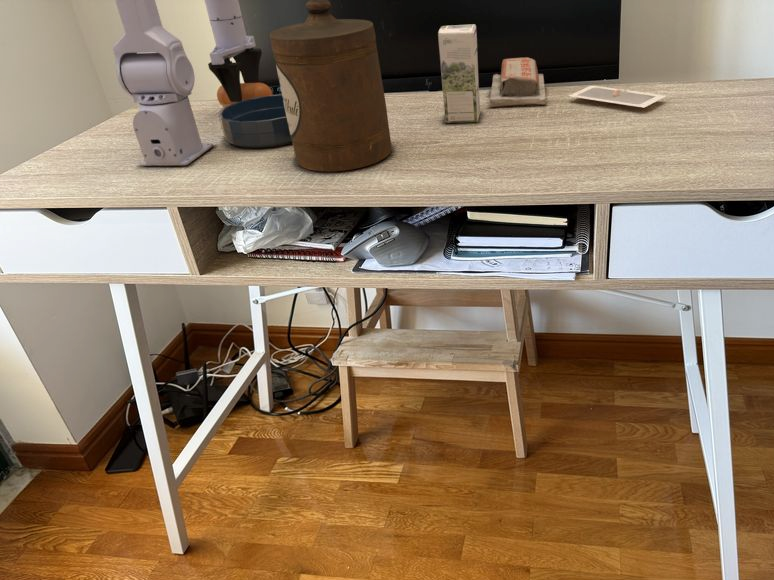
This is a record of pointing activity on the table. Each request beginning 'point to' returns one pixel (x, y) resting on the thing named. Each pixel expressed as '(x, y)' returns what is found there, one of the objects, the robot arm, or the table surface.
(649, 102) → the touchpad
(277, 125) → the bowl
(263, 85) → the bun
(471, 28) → the syrup box
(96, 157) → the table surface
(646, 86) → the table surface
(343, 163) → the wooden container
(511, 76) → the packaged product
